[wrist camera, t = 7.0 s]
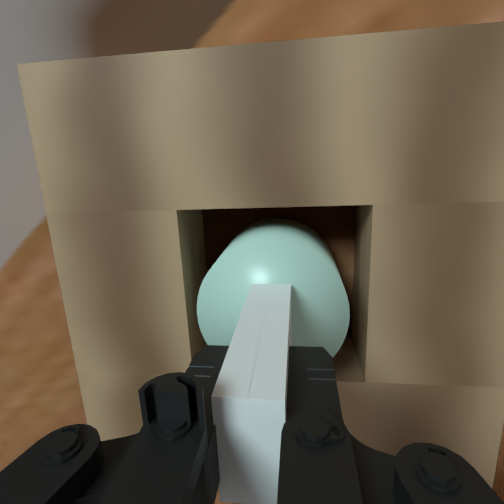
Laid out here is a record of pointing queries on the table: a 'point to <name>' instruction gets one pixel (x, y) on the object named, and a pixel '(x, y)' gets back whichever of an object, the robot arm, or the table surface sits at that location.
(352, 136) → the dock
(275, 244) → the pale mint egg
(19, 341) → the table surface
